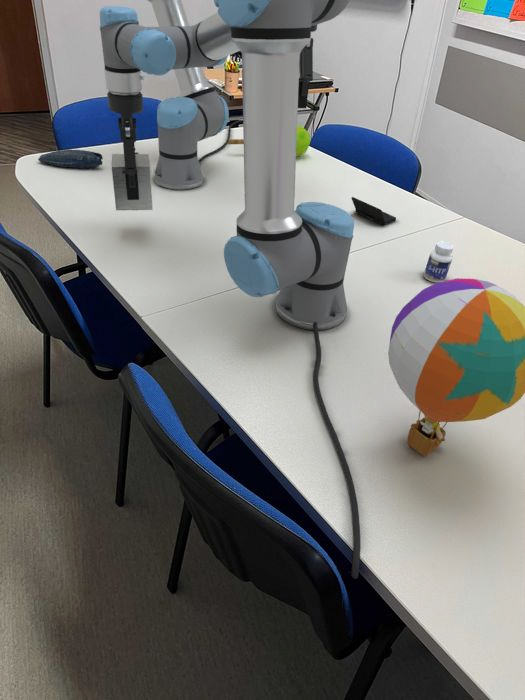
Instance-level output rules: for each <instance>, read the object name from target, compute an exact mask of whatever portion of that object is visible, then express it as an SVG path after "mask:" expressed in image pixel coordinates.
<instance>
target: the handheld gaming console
mask: <svg viewBox="0 0 525 700" xmlns="http://www.w3.org/2000/svg"><path fill="white" fill-rule="evenodd" d="M351 201H352V204H353V206H354V209H355V211H354V212H355V213H356V214H359V215H360V216H362V217H364V218H367V219H370V220H372V221H373V222H375V223H377V224H380V225H382V226H386V225H388V224H391V223H394V222H396V220H397V217H396V216H394V215H392V214H389V213H387V212H385V211H383V210H382V209H381V208H379V207H376V206H374V205H372V204H370V203H367V202H365V201H363V200H360V199H358V198H356V197H354V196H352V197H351Z"/></svg>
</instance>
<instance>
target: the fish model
mask: <svg viewBox="0 0 525 700" xmlns="http://www.w3.org/2000/svg"><path fill="white" fill-rule="evenodd" d="M103 159H104V157H103V155H102V154H101V153H100V152H95V151H89V150H84V149H59V150H56V151H51V152H48V153H44V154H43V153H42V154H41V155H40V156H39V157H38V158H37V160H38V161H39V162H41V163H44V164H47V165H49V166H50V165H51V166H55V167H61V168H78V169H82V170H86V169H89V168H93V169H96V168H98V167H99V166H102V165H103V161H102V160H103Z"/></svg>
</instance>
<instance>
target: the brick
mask: <svg viewBox="0 0 525 700" xmlns="http://www.w3.org/2000/svg"><path fill="white" fill-rule="evenodd" d="M135 158H136V169H137V177H138V190H139V200H128V199H127V188H126V177H125V174H122V171H125V160H124V153H111V175H112V183H113V184H112V186H113V194H114V195H113V196H114V203H115V211H153V210H154V209H153V195H152V194H153V192H152V177H151V164H150V155H149V154H148V153H138V154H135Z"/></svg>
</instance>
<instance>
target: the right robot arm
mask: <svg viewBox="0 0 525 700" xmlns="http://www.w3.org/2000/svg"><path fill="white" fill-rule="evenodd" d="M350 1H351V0H213V3H214V6H215V7H216V8H217V12H215V13H213V14H211V15H210V16H208V17H206V18H205V19H203V20H201V21H200V22H198V23H196V24H194V25H193V24H192V25H189V26H173V27H159V26H143V25H140V22H139V17H138V13H137V11H136V9H135V8H132V7H127V6H118V5H117V6H116V5H113V6H112V5H109V6H108V5H107V6H103V7H101V9H100V10H99V31H100V37H101V47H102V56H103V65H104V78H105V87H106V90H108V92H106V93H107V94H106V96H107V104H108V105H107V106H108V110H109V111H110V112H112V113H115V114H119V115H121V117H117V123H118V124H117V127H118V130H119V136H120V141H121V142H122V146H123V147H122V148H123V154H124V160H125V171H122V174H125V177H126V188H127V199H128V200H139V190H138V177H137V169H136V158H135V154H139V152H136V147H135V145H136V142H137V131H136V130H137V118H136V117H133V116H134V114H135V115H137V114H140V113H142V112H143V111H144V97H143V95H144V94H143V93H142V92H141V91H142V90H143V86H142V85H143V83H142V81H144V80H145V75H143V74H141V73H142V72H143V73H146V74H147V75H150V76H151V75H154V76H165V75H166V74H168V73H169V72H170V71H171V70H174V69H183V68H194V67H203V68H212V67H216V66H221V65H222V64H224V63H225V62H226V60H227V59H228V58H229V56H231V55H234V54H236V53H238V52H240V53H241V75H242V76H241V77H242V78H241V79H242V80H241V81H242V122H243V124H242V127H243V129H242V130H243V133H242V134H243V135H242V136H243V137H242V138H243V139H244V144H243V184H244V186H243V187H244V191H243V192H244V210H243V211H242V212H241V213H240V214H239V215H238V216H237V217H236V221H235V222H236V235H234V236H231V237H230V238H228V240H227V241H226V242H225V244H224V247H223V260H224V265H225V268H226V269H227V272H228V274H229V276H230V278H231V280H232V281H233V282H234V284H235V286H236V287H237V288H238V289H239V290H241V292H242V293H244V294H246V295H247V296H249V297H252V298H262V297H265V296H268V295H275V294H276V293H277V292H278V294H277V296H276V300H275V311H276V313H277V315H278V316H279V317H280V318H281V319H282V320H283V321H284V322H286V323H287V324H289V325H291V326H293V327H296V328H300V329H304V330H310V331H313V336H314V343H315V351H316V352H315V353H316V357H315V363H314V367H313V374H312V380H313V381H312V382H313V388H314V393H315V396H316V400H317V403H318V406H319V408H320V411H321V415H322V417H323V421H324V422H325V426H326V427H327V429H328V432H329V435H330V437H331V439H332V442H333V445H334V447H335V450H336V452H337V456H338V459H339V460H340V463H341V466H342V469H343V470H342V471H343V472H344V475H345V480H346V484H347V489H348V494H349V500H350V506H351V516H352V535H353V536H352V537H353V540H352V541H353V543H352V561H351V577H352V579H355V580H357V579H358V578H359V573H360V563H361V562H360V561H361V527H360V514H359V513H360V512H359V505H358V498H357V493H356V489H355V484H354V480H353V477H352V473H351V470H350V467H349V464H348V460H347V458H346V455H345V454H344V449H343V447H342V445H341V443H340V440H339V437H338V435H337V433H336V431H335V428H334V426H333V424H332V421H331V419H330V417H329V413H328V411H327V408H326V405H325V402H324V399H323V396H322V393H321V389H320V383H319V372H320V367H321V361H322V347H321V341H320V334H319V331H324V330H325V331H326V330H329V329H333V328H336V327H337V326H339V325H340V324H342V323H343V322H344V320H345V318H346V315H347V310H348V305H347V297H346V292H345V286H344V280H345V275H346V271H347V267H348V261H349V257H350V251H351V246H352V241H353V238H354V231H355V229H354V228H355V220H354V218H353V215H351V214H350V213H349V212H348V211H346V210H345V209H343V208H340V207H338V206H335V205H333V204H329V203H324V202H319V201H304V202H301V203H299V204H298V205H297V206H296V208H295V197H296V196H295V195H296V194H295V193H296V168H297V167H296V165H297V156H296V142H297V126H298V114H299V113H298V112H299V111H298V109H299V108H298V86H299V78H300V70H299V59H300V52H301V50H302V49H303V48H304V47H305V46H306V45H307V43H308V42H309V41H310V40H311V38H312V37H311V36H312V32H311V27H313V26H315V25H317V26H318V25H320V24H322V23H325V22H328V21H331V20H333V19H335V18H336V17H338V16H339V15H341V13H342V12H344V10H345V9H346V7H347V6H348V4H349V3H350ZM141 71H142V72H141Z"/></svg>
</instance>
